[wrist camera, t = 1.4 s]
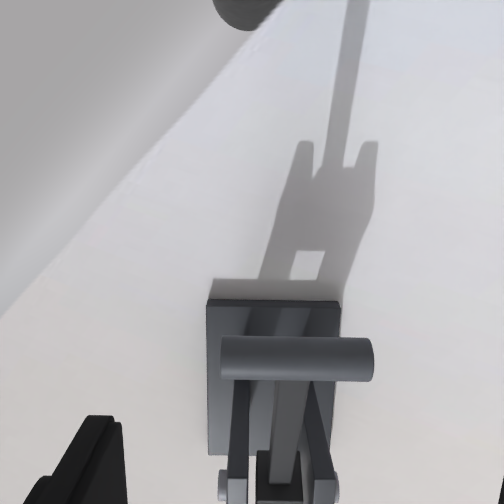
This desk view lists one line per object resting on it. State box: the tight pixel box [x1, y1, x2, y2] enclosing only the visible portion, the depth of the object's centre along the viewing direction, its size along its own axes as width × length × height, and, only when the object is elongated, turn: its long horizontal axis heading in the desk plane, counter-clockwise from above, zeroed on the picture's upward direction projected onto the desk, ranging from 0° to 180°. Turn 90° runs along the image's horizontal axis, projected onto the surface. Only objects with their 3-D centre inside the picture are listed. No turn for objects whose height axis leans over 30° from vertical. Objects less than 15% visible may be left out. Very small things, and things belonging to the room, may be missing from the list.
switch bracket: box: [206, 299, 341, 504], centre depth 26 cm, size 12×9×12 cm
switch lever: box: [220, 336, 374, 504], centre depth 18 cm, size 13×5×2 cm, turn 179°
